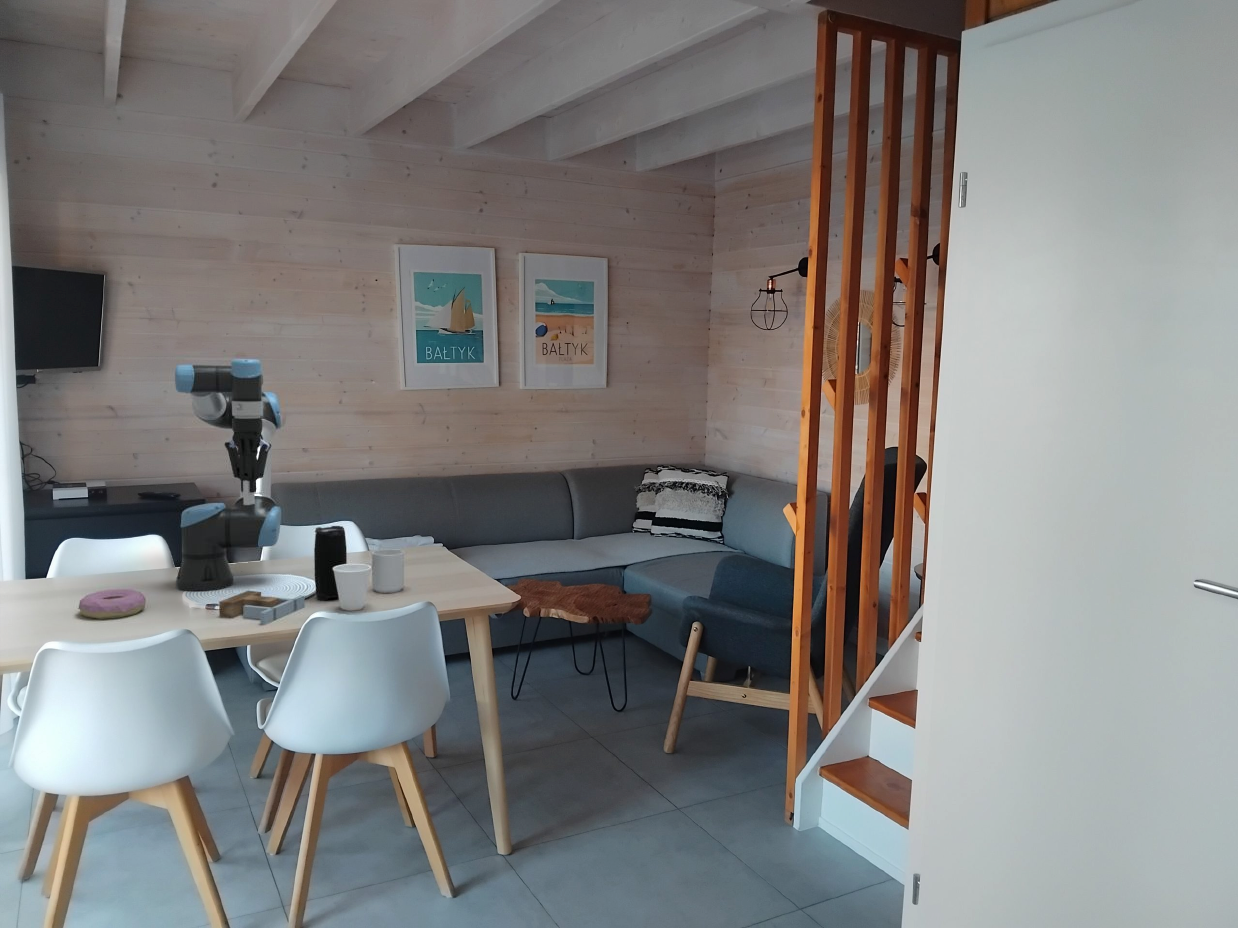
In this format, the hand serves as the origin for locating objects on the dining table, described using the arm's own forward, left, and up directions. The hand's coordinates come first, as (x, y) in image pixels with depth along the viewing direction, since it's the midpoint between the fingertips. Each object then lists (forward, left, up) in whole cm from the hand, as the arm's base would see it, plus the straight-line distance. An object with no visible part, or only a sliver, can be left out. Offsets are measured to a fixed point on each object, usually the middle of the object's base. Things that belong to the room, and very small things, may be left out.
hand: (249, 504), depth 259 cm
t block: (+9, -11, -27) cm, 30 cm away
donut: (-25, -22, -27) cm, 43 cm away
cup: (+30, +1, -27) cm, 40 cm away
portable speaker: (+19, +9, -27) cm, 34 cm away
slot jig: (+13, -11, -26) cm, 32 cm away
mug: (+29, +23, -27) cm, 46 cm away
